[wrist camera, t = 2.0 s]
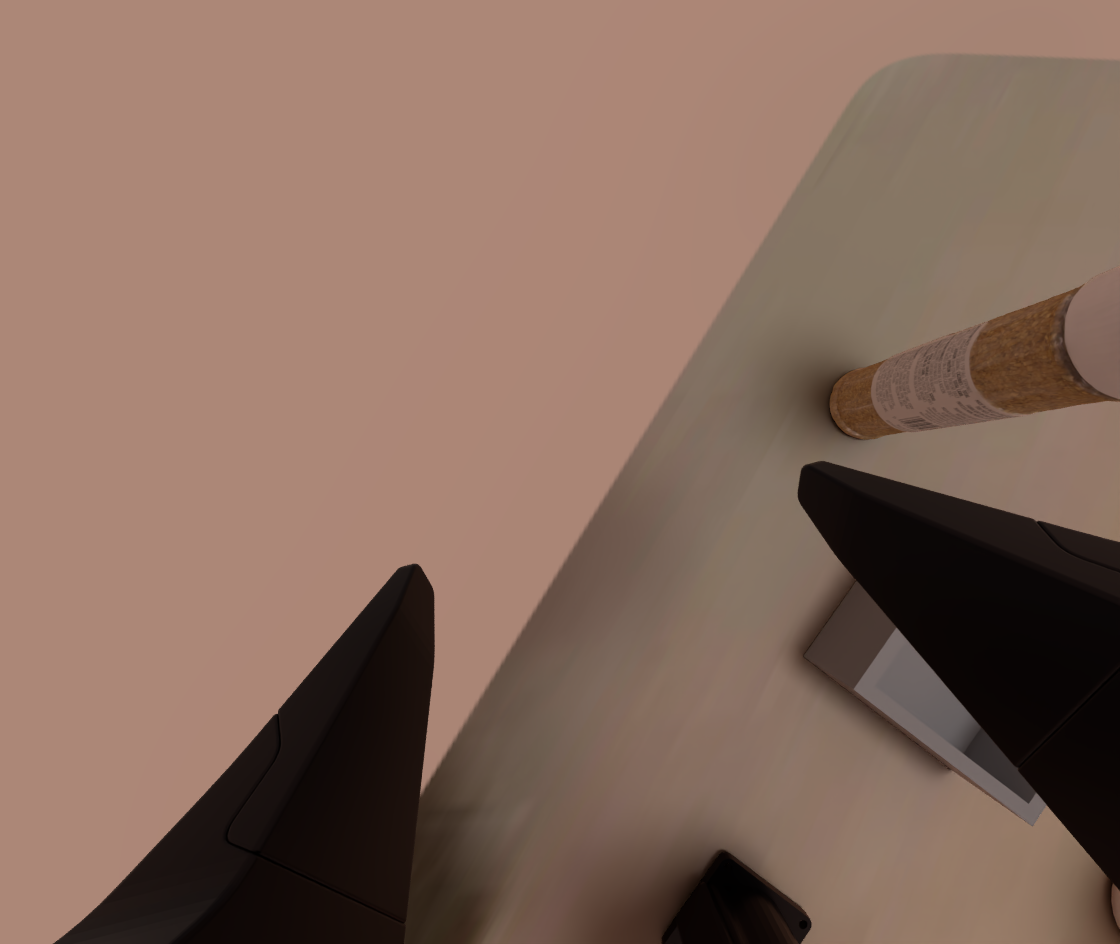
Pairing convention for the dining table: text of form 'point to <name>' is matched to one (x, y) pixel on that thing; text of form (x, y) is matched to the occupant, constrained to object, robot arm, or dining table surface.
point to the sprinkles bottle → (993, 368)
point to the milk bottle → (1116, 904)
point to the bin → (915, 699)
